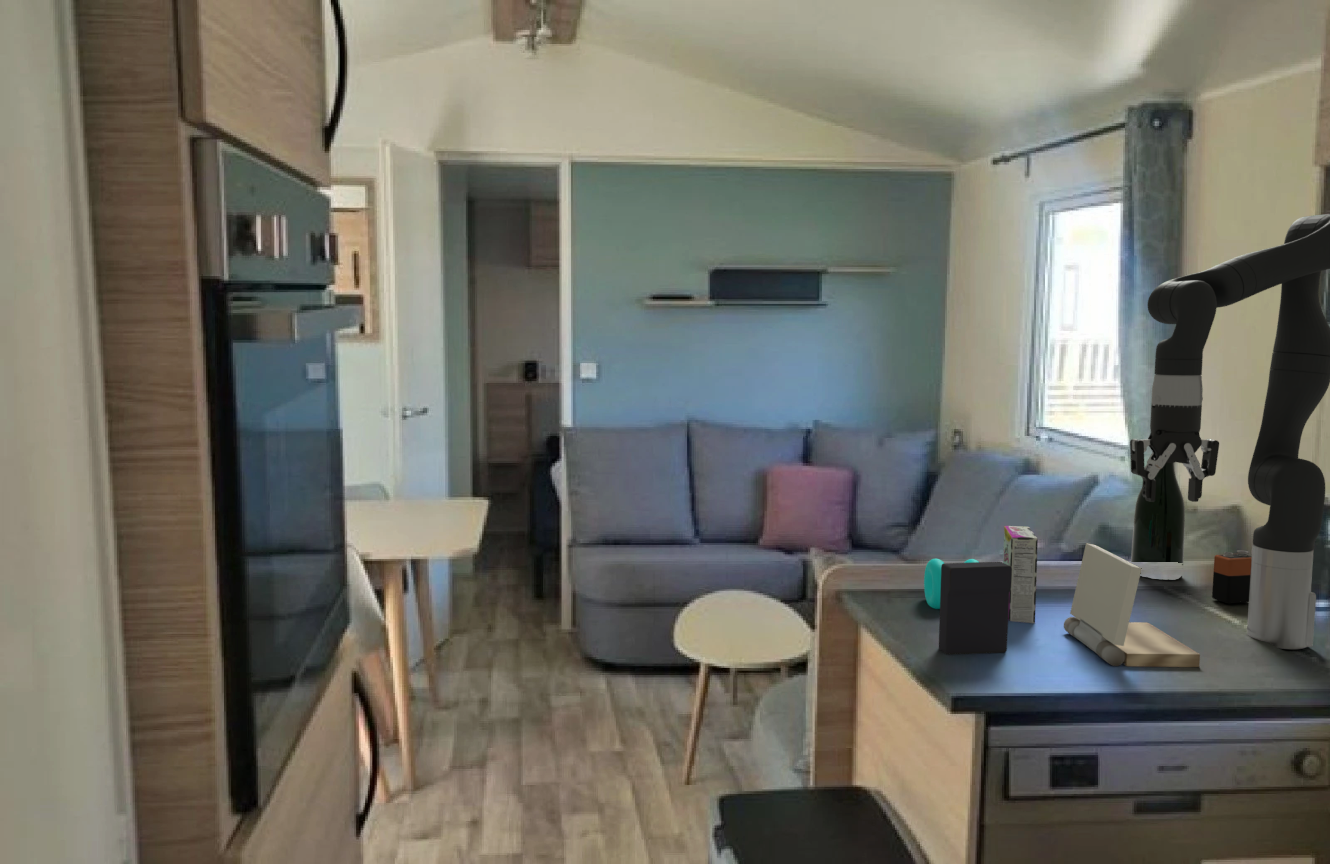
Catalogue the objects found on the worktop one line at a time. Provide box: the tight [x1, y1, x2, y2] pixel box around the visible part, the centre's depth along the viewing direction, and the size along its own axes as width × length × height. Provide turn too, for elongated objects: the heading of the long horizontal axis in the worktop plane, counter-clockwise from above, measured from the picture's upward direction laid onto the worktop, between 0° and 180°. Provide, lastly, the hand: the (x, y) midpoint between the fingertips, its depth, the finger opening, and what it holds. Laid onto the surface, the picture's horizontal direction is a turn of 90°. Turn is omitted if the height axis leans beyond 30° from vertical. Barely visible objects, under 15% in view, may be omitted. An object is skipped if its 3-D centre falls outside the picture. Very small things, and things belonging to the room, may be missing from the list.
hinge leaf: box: [1069, 542, 1142, 654], centre depth 171 cm, size 16×18×3 cm
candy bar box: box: [1002, 525, 1039, 624], centre depth 191 cm, size 11×5×16 cm, turn 168°
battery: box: [1211, 550, 1252, 604], centre depth 204 cm, size 4×7×10 cm, turn 104°
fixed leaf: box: [1063, 616, 1201, 668], centre depth 171 cm, size 15×18×3 cm
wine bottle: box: [1130, 450, 1186, 564], centre depth 222 cm, size 10×10×33 cm
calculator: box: [938, 561, 1012, 656], centre depth 169 cm, size 11×4×15 cm, turn 100°
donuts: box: [923, 558, 980, 610], centre depth 195 cm, size 10×10×10 cm
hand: (1171, 500), depth 169 cm, fingers open, 6 cm apart
